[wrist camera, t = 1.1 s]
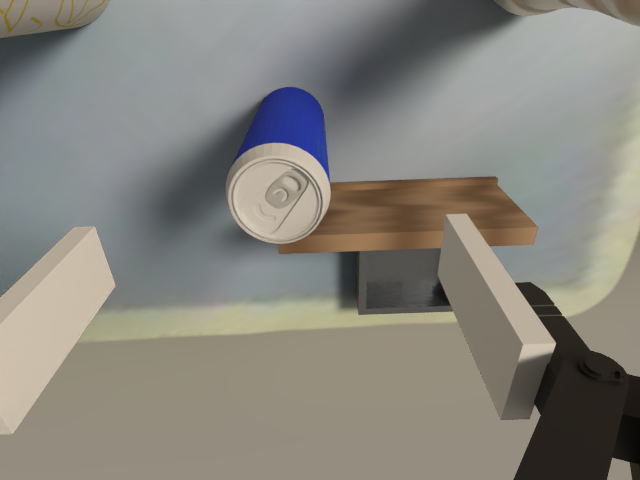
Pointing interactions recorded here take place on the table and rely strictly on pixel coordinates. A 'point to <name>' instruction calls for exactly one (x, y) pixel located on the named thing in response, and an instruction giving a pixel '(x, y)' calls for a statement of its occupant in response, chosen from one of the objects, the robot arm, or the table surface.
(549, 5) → the plastic bottle
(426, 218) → the board
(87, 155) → the table surface
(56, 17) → the cup
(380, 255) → the tray
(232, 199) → the beverage can
